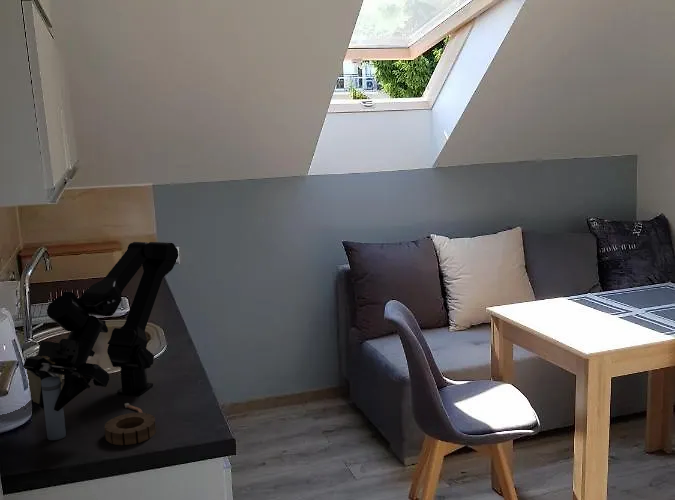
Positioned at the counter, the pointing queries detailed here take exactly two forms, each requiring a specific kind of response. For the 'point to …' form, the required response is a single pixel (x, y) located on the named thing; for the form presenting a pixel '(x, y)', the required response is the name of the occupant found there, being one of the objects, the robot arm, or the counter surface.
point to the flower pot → (37, 384)
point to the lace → (133, 408)
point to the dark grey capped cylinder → (52, 417)
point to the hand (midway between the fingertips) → (48, 409)
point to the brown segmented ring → (130, 428)
